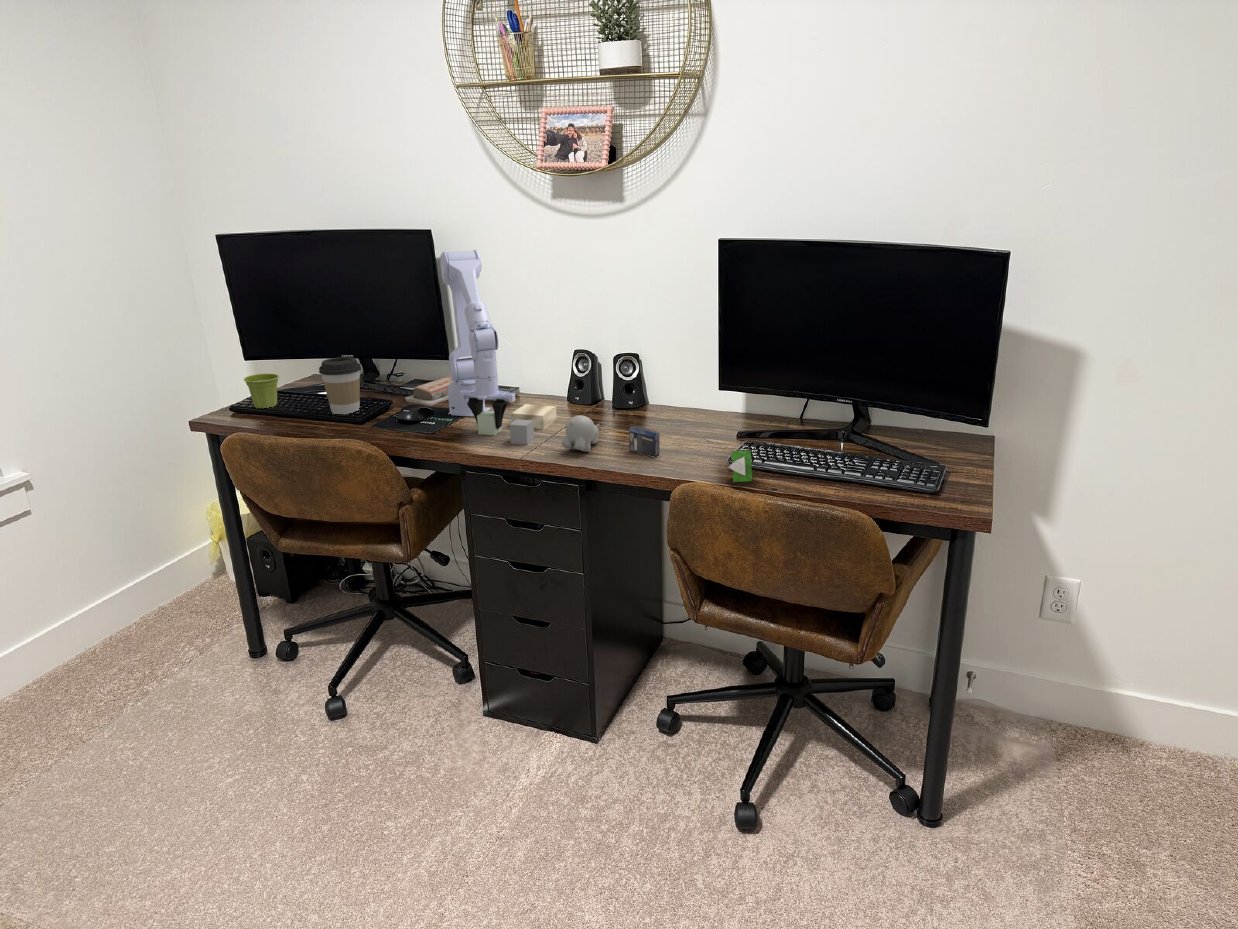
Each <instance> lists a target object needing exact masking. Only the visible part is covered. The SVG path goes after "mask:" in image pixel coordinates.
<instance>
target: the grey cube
mask: <svg viewBox="0 0 1238 929" xmlns="http://www.w3.org/2000/svg"><path fill="white" fill-rule="evenodd" d="M534 432H535V430H534V428H533V420H519V419H516V420H515V421H514V422H512V421H511V423H510V424H509V437H510V438H509V439H510V444H512V445H514V444H515V445H526V446H528V445H529V444H531V442H532V441H534V440H535V433H534Z"/></svg>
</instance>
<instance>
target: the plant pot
mask: <svg viewBox="0 0 1238 929" xmlns="http://www.w3.org/2000/svg"><path fill="white" fill-rule="evenodd" d="M279 378H280V375H279V374H277V373H257V374H252V375H248V376H246V377H244V378H243V381H244V382H245V384H246V386H247V388H248V390H249V394H250V396H251V399H252V404H253V405H254V408H255V407H256V409H258V408H259V409H264V408H268V409H270V408H269V407H272V408H275V407H276V406H277V405H278V382H279ZM276 404H277V405H276ZM274 406H275V407H274Z"/></svg>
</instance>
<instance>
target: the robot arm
mask: <svg viewBox="0 0 1238 929" xmlns="http://www.w3.org/2000/svg"><path fill="white" fill-rule="evenodd" d="M439 259H440V260H439V261H440V262H439V263H440V264H439V265H440V271H441V272H440V273H441V279H442V283H443V284H445V285H448V286H449V289H450V292H451V298H452V307H453V315H454V323H455V331H456V339H457V341H456V342H457V346H456V348H455V349H453V350H452V352H450V354H449V356H448V362H449V363H448V364H449V365H448V368H449V369H448V370H449V371H448V372H449V376H451V379H452V380H453V381H452V382H451V383H450V384H449V387H448V409H449V412H448V415H449V414H451V415H450V416H457V417H458V416H460V417H474V419H475V422H476V426H478V421H477V415H479V414H480V413H482V412H483V411H491V409H493V411H494V414H495V425H496V429H499V428H500V427H501V428H503V427H502V426H503V418H504V414H505V412H506V409H507V406H508V404H509V403H514V402H516V393H515V392H508V391H502V390H499V381H498V380H499V379H498V366H497V352H496V351H497V350H498V348H499V338H498V332H497V329H496V327H495V326H494V324H493V323H491V320H490V319H491V318H490V316H489V312H488V308H487V305H486V304H485V303H484V302H481V297H480V292H479V286H478V278H480V274H481V271H482V258H481V254H480V252H479V251H478V250H477V249H473V250H463V251H442V252H441V254H440V258H439ZM486 401H495V402H493V403H492V408H491V407H488V406H487V407H486V405H485V404H486V403H485V402H486Z"/></svg>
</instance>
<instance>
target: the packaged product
mask: <svg viewBox="0 0 1238 929" xmlns="http://www.w3.org/2000/svg"><path fill="white" fill-rule="evenodd" d="M452 381H453V380H452V379H451V376H450V375H449V376H445V377H442V378H439V379H436V380H432V381H430V382H426V383H423V384H420V385H417V386H415V387H413V388H412V395H409V396H406V397H404V399H405V401H406V403H407V402H408V403H412V404H417V405H423V406H430V407H431V406H434V405H436V404H439V403H442V402H445V401H447V400H448V387H449V384H450V383H451V382H452ZM448 401H449V400H448Z"/></svg>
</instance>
